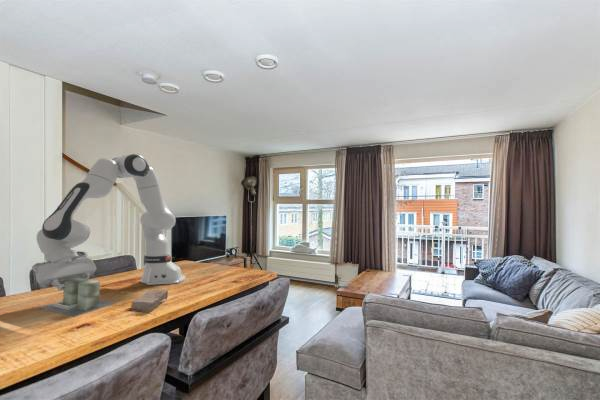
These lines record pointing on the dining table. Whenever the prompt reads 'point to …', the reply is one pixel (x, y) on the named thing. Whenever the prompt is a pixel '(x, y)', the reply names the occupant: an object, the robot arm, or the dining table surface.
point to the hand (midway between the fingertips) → (75, 286)
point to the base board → (73, 308)
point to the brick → (149, 300)
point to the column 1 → (71, 291)
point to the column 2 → (88, 295)
